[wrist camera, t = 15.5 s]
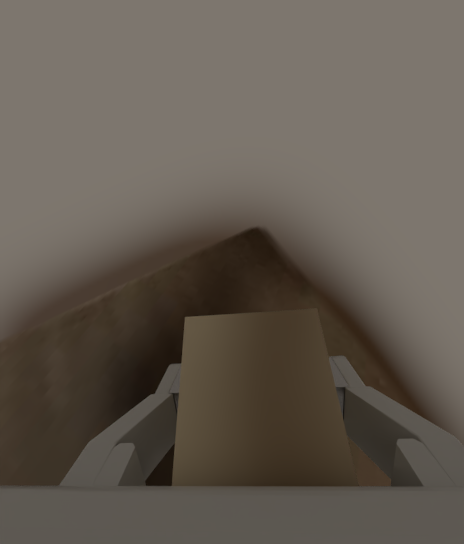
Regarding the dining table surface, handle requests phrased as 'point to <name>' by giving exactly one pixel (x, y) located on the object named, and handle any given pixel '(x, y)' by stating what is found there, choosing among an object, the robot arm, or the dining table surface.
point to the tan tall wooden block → (259, 404)
